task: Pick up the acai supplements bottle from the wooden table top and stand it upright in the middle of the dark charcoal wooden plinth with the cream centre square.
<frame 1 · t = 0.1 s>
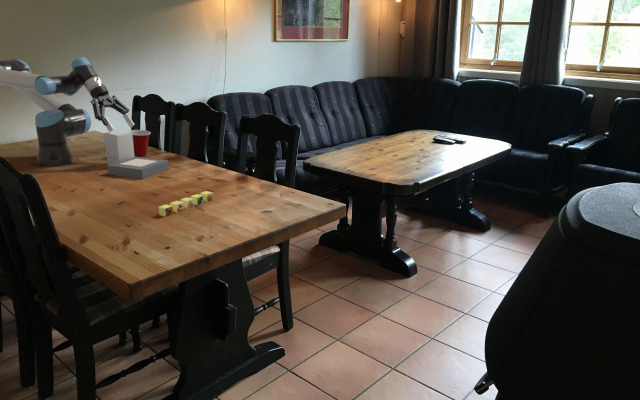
hand: (122, 128, 242), 16 cm above the table, tool tilted 35°, fingers open, 13 cm apart
row of toy blocks: (193, 209, 186), on the table
plinth: (139, 171, 231), on the table
plastic cup: (141, 155, 261), on the table
supplement box: (121, 164, 242), on the table, touching gripper
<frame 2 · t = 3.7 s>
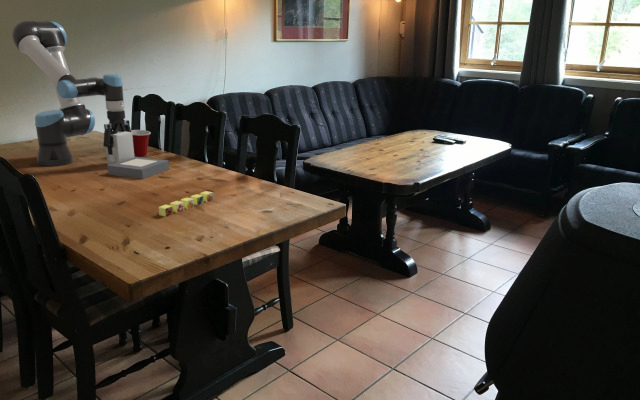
hand: (120, 159, 241), 3 cm above the table, tool pointing down, fingers closed on supplement box, 10 cm apart
supplement box: (121, 165, 242), on the table, touching gripper
everything else where it was.
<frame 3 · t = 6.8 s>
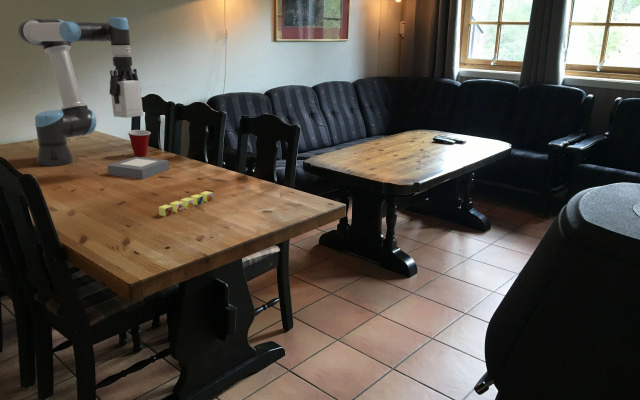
hand: (127, 109, 227), 26 cm above the table, tool pointing down, fingers closed on supplement box, 9 cm apart
supplement box: (128, 116, 228), point 23 cm above the table, touching gripper
everything else where it was.
when the fingers open (8 cm above the table, at t = 10.1 s): supplement box drops 1 cm, resting on plinth.
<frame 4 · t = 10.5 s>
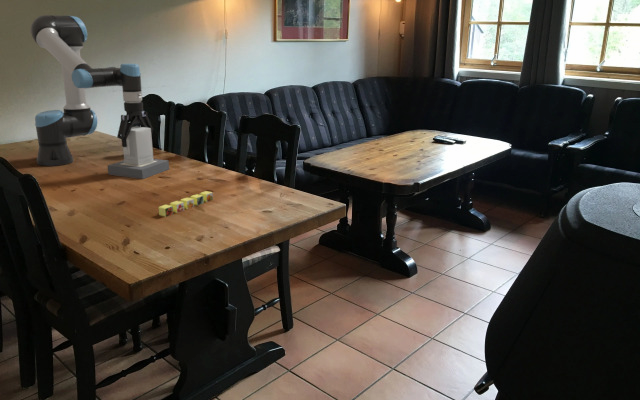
hand: (137, 151, 228), 9 cm above the table, tool pointing down, fingers open, 13 cm apart
supplement box: (139, 162, 230), point 4 cm above the table, touching plinth
everything else where it was.
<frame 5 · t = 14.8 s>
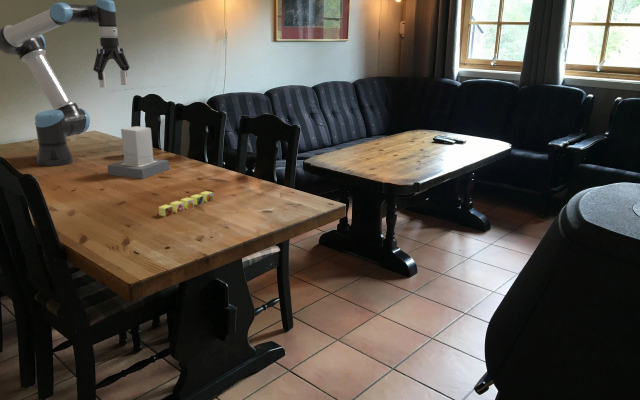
hand: (113, 86, 239), 35 cm above the table, tool pointing down, fingers open, 13 cm apart
nothing on the table moved.
at the end: supplement box inside the target area on the plinth (0.3 cm from its centre), point 4.0 cm above the plinth's base; supplement box tilted 0°; the gripper is holding nothing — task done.
